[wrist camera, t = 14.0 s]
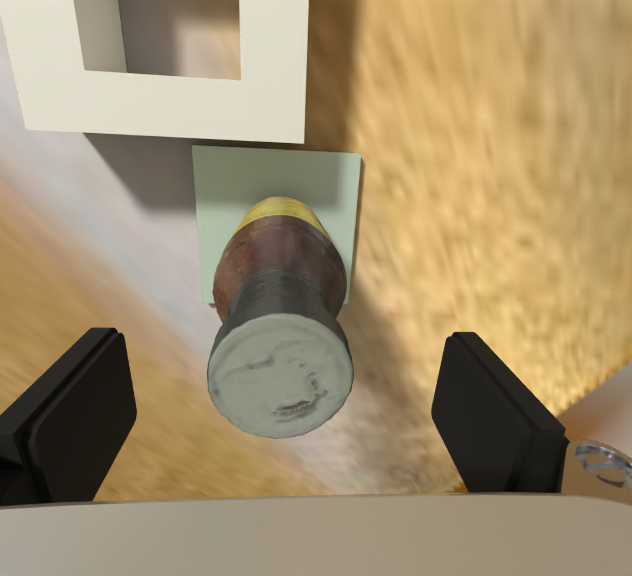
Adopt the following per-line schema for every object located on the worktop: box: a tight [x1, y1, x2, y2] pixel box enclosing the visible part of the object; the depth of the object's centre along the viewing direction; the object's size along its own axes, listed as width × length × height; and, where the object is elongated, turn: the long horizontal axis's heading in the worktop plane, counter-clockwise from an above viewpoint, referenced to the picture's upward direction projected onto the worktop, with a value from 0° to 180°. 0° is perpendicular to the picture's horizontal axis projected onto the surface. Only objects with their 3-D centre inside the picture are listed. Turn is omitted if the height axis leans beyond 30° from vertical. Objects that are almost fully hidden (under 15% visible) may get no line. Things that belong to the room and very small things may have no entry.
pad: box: [192, 145, 361, 304], centre depth 29 cm, size 12×12×1 cm
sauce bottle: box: [207, 197, 354, 439], centre depth 19 cm, size 7×6×20 cm
